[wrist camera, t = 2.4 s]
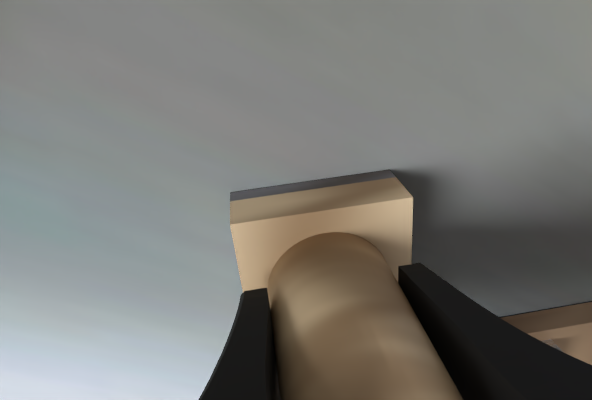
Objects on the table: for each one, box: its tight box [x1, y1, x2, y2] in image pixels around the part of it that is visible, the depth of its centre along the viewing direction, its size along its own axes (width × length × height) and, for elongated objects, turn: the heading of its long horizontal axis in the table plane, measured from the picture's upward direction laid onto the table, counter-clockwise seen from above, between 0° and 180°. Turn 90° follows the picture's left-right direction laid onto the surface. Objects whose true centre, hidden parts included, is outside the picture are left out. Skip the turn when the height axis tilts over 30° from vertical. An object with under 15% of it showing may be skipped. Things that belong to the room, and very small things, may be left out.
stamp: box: [230, 170, 463, 400], centre depth 11 cm, size 5×5×8 cm
